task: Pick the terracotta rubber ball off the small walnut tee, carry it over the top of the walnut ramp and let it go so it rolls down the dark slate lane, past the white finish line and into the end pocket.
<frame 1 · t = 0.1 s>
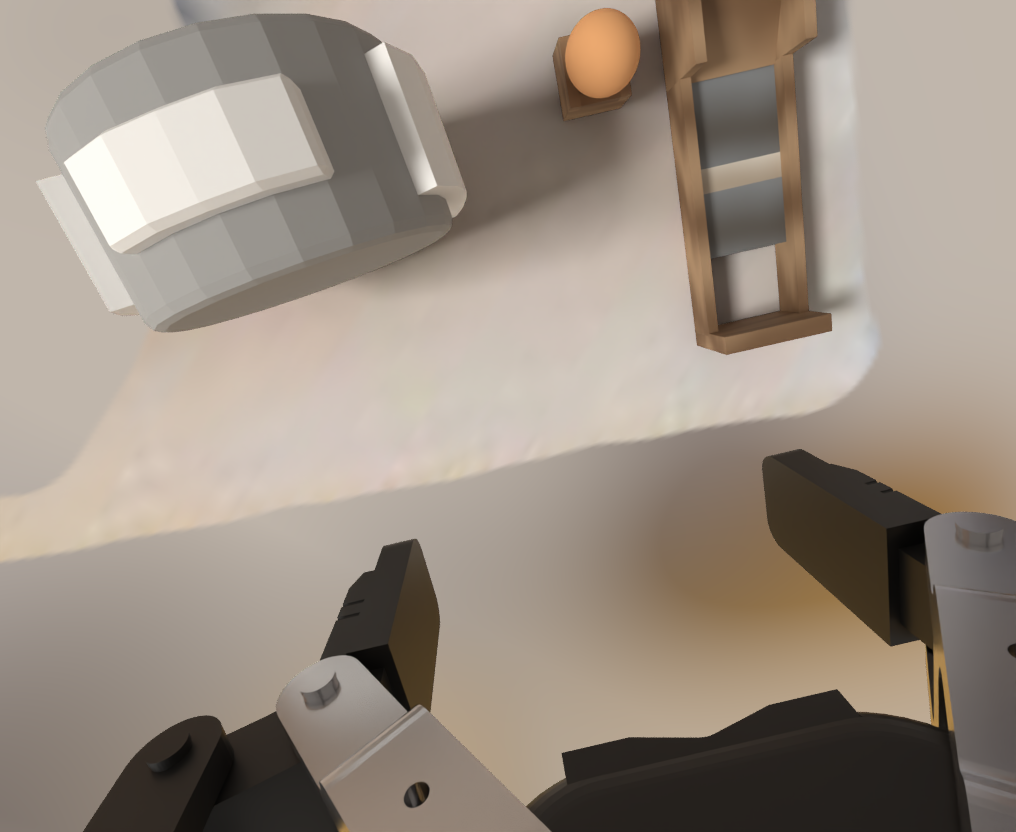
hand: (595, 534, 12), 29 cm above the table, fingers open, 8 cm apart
lane: (725, 147, 37), on the table
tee: (586, 82, 35), on the table
ball: (602, 55, 31), point 5 cm above the table, touching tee
alarm clock: (337, 221, 37), on the table
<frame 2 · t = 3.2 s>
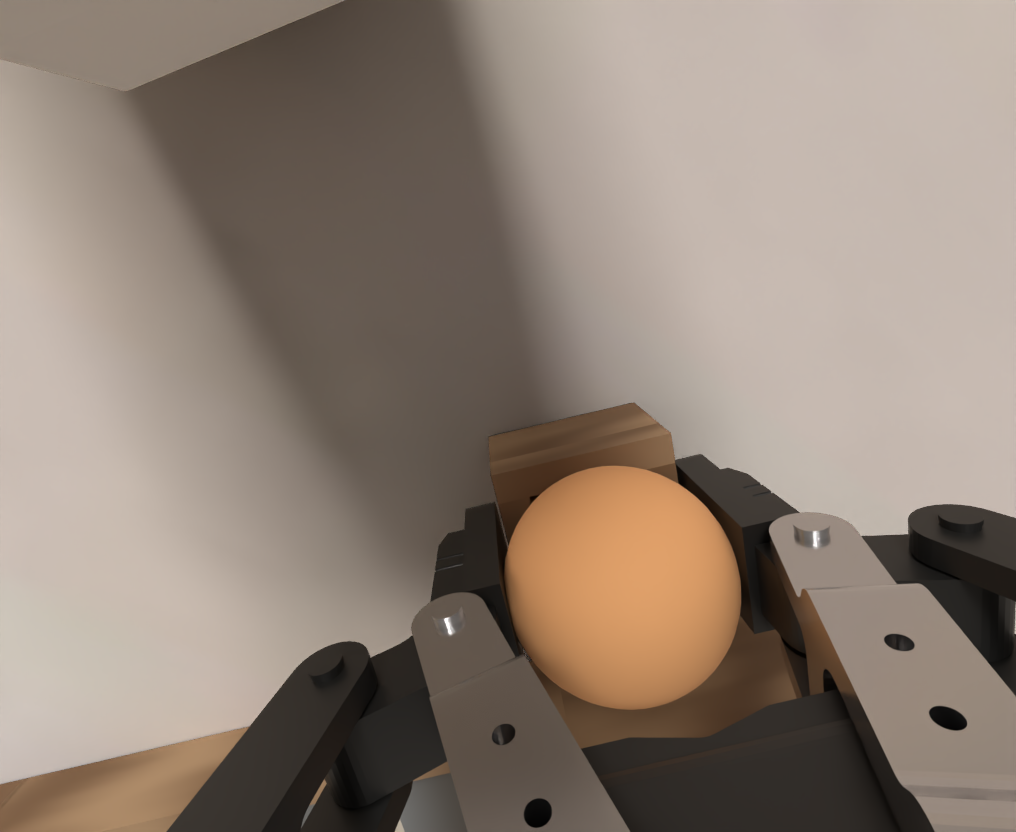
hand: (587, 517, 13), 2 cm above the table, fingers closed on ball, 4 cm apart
lane: (447, 778, 17), on the table
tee: (575, 486, 15), on the table
ball: (617, 579, 10), point 5 cm above the table, touching gripper, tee
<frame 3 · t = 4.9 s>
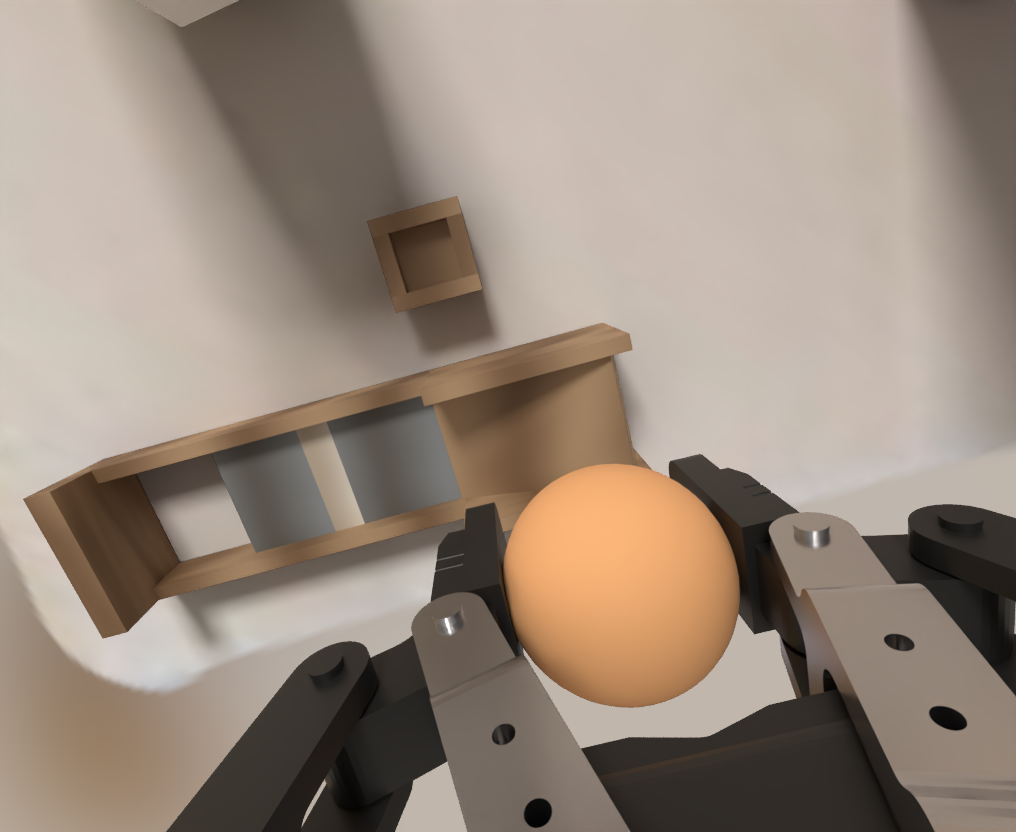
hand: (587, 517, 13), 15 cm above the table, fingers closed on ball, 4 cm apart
lane: (373, 456, 28), on the table
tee: (431, 257, 26), on the table
ball: (615, 577, 10), point 18 cm above the table, touching gripper
when the fingers open (6 cm above the table, at t = 6.9 s): ball drops 3 cm and tips over, resting on lane.
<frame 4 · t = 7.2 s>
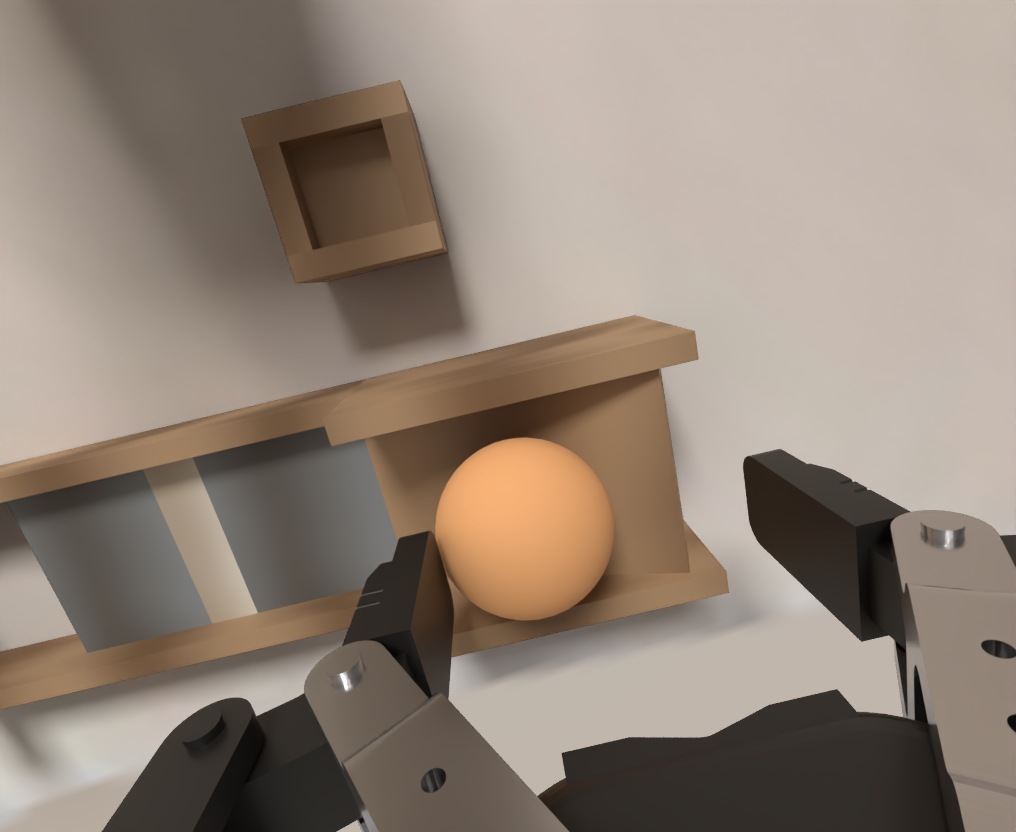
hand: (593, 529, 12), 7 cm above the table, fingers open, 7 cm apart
lane: (278, 507, 18), on the table
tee: (368, 200, 16), on the table
ball: (524, 525, 13), point 6 cm above the table, tilted 42°, touching lane
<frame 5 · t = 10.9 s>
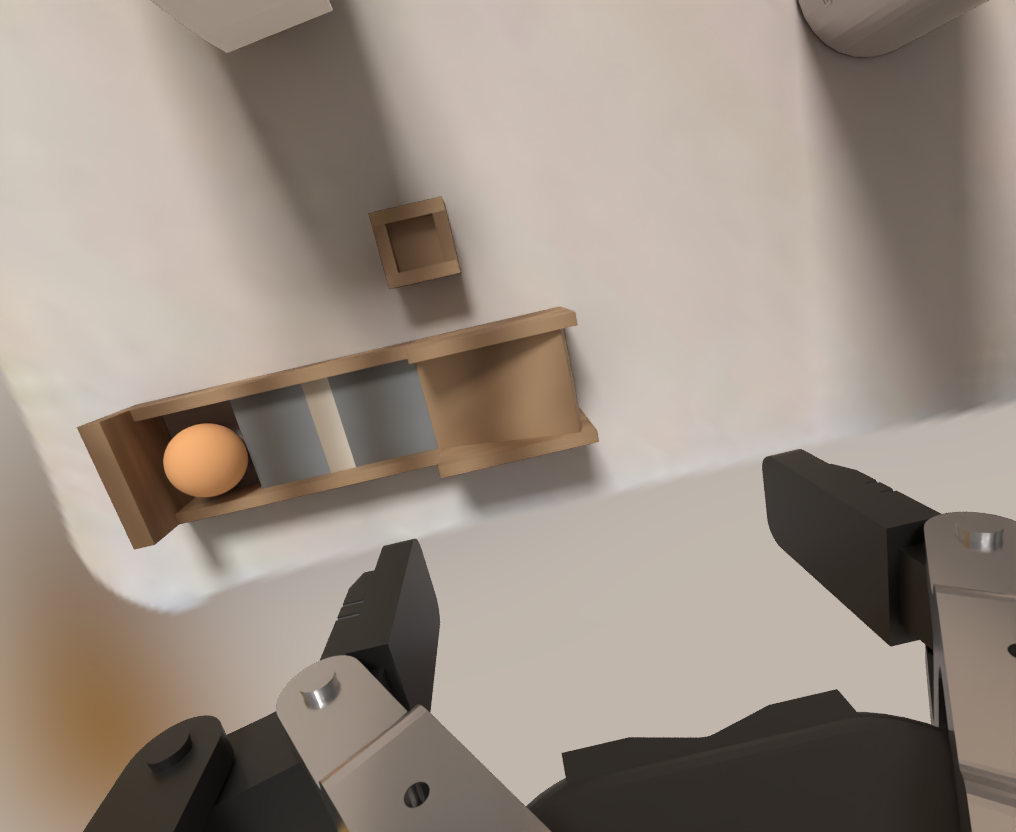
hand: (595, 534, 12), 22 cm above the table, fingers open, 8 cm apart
lane: (365, 411, 33), on the table
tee: (420, 246, 31), on the table
ball: (207, 460, 31), point 2 cm above the table, tilted 172°
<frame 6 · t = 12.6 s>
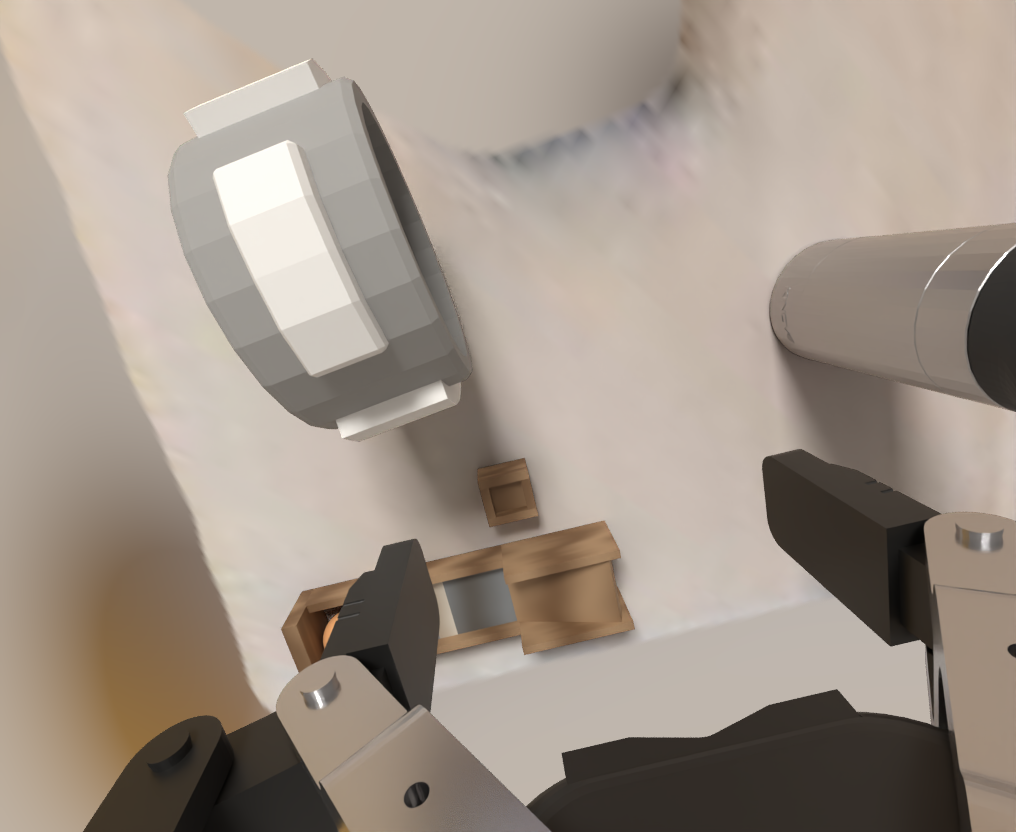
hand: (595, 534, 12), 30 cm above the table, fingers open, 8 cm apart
lane: (463, 592, 46), on the table
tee: (506, 485, 44), on the table
ball: (350, 636, 44), point 2 cm above the table, tilted 159°
alarm clock: (384, 270, 39), on the table
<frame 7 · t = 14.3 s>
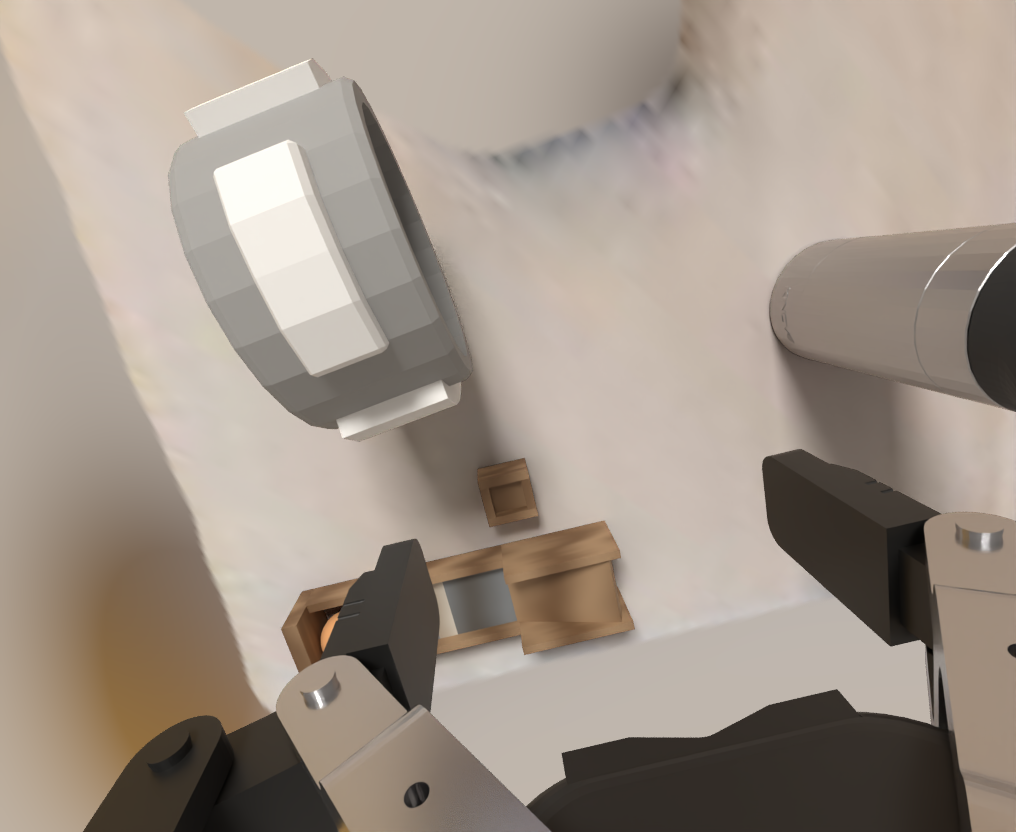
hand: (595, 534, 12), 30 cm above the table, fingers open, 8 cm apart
lane: (463, 592, 46), on the table
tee: (506, 485, 44), on the table
ball: (348, 636, 44), point 2 cm above the table, tilted 153°
alarm clock: (384, 270, 39), on the table
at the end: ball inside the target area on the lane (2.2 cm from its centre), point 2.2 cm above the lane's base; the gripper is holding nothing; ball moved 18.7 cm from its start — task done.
